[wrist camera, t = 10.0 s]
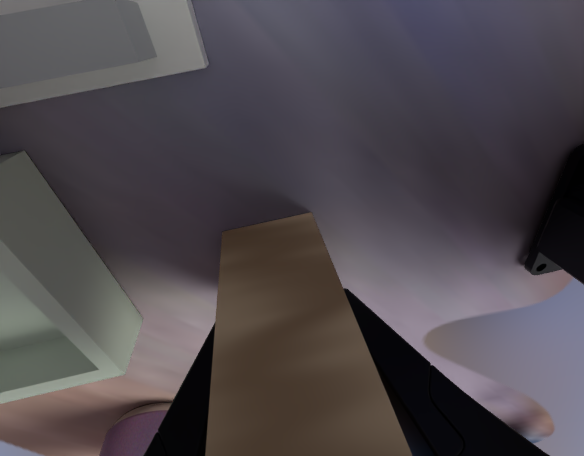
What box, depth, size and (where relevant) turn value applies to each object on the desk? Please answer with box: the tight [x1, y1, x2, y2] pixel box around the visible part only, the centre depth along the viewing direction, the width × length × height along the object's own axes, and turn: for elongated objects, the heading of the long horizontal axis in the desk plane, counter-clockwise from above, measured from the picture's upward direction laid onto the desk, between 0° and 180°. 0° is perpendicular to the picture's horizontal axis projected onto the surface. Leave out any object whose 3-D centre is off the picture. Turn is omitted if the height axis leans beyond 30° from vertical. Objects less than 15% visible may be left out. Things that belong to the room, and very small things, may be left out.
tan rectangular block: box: [205, 212, 412, 456], centre depth 8 cm, size 3×3×10 cm
